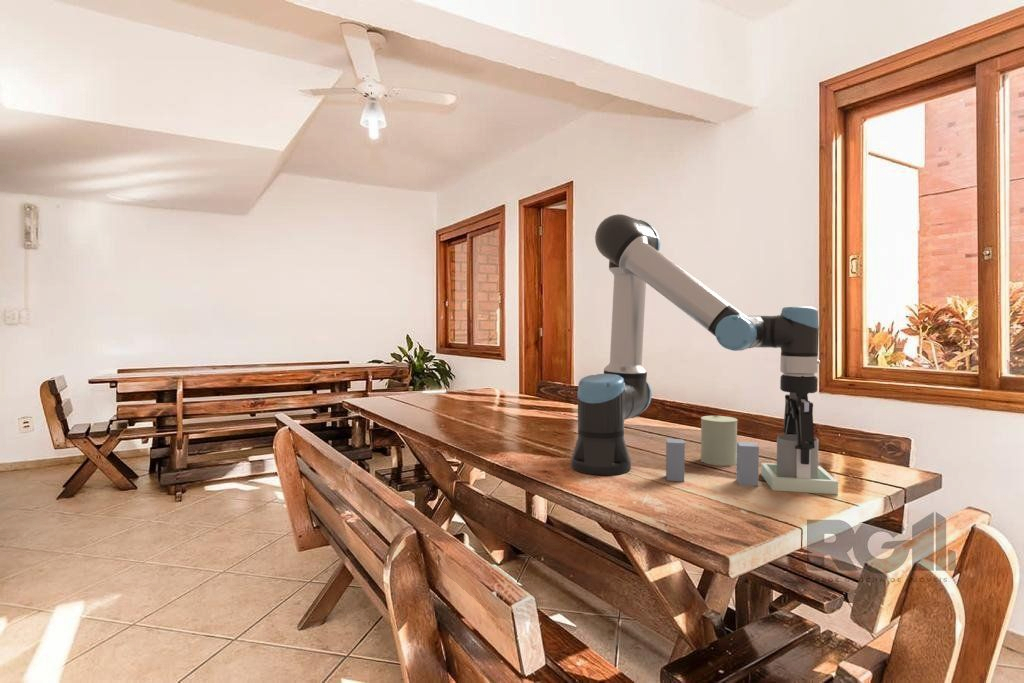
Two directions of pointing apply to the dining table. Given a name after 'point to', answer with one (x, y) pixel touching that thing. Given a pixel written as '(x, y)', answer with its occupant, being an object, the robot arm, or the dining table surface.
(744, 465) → the block
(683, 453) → the block
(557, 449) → the dining table surface
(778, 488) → the tray
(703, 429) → the can
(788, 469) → the cup
